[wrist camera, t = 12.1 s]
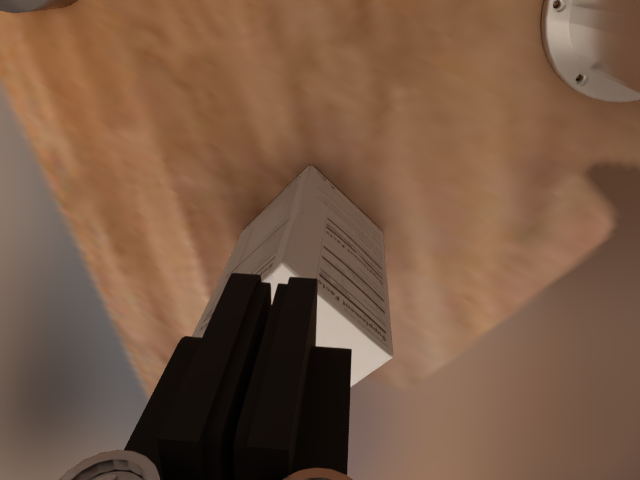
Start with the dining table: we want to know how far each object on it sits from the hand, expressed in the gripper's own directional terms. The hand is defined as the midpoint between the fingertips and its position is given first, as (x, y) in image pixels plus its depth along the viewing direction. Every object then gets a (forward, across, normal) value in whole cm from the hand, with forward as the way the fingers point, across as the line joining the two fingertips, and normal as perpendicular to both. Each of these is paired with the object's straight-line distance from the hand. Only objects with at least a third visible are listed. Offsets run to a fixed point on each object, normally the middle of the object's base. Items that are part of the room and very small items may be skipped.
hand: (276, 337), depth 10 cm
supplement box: (+32, +2, +14) cm, 35 cm away
